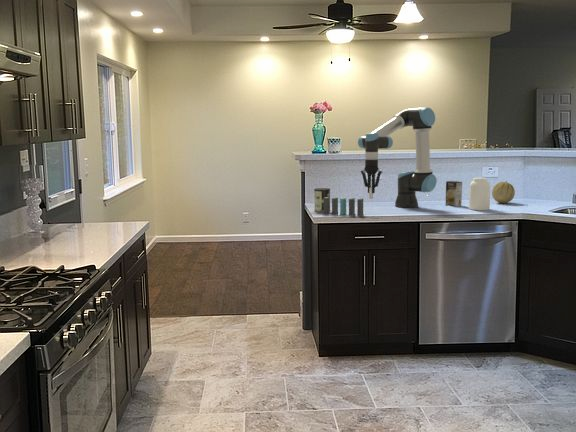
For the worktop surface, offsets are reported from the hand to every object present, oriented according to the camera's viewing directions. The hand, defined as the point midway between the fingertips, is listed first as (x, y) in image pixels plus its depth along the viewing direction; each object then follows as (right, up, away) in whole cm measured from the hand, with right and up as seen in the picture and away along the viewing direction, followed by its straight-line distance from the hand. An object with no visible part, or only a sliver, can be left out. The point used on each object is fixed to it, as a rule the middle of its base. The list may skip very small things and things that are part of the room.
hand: (371, 198), depth 366 cm
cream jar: (+72, -6, +22) cm, 75 cm away
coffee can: (-28, -7, +29) cm, 40 cm away
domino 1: (-26, -9, +14) cm, 31 cm away
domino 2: (-21, -9, +12) cm, 26 cm away
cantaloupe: (+97, -2, +51) cm, 109 cm away
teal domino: (-16, -9, +10) cm, 21 cm away
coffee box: (+61, -3, +44) cm, 75 cm away
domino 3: (-11, -10, +7) cm, 16 cm away
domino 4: (-6, -10, +5) cm, 13 cm away
